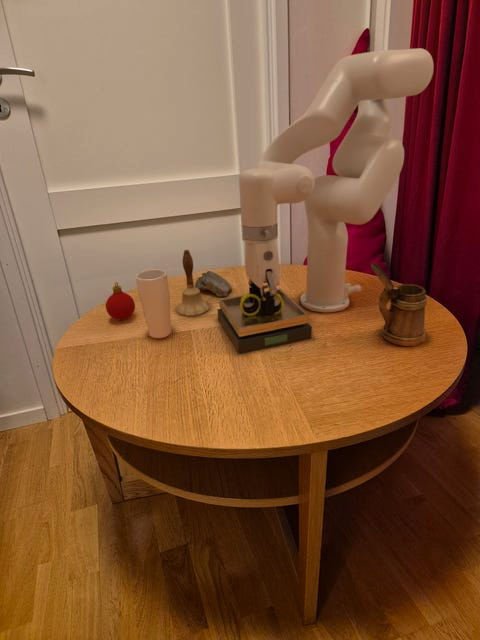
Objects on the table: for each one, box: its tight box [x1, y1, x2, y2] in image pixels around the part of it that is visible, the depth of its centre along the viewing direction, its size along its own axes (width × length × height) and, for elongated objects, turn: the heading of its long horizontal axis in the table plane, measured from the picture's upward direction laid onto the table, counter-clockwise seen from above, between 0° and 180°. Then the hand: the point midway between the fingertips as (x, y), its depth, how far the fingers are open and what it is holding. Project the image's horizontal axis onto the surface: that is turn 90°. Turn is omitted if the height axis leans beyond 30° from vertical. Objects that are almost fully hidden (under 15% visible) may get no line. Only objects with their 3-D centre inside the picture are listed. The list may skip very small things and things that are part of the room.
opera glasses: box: [240, 293, 284, 316], centre depth 93 cm, size 10×5×5 cm, turn 89°
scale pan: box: [218, 288, 310, 337], centre depth 94 cm, size 16×16×2 cm
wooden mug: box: [370, 262, 428, 347], centre depth 85 cm, size 9×14×18 cm, turn 99°
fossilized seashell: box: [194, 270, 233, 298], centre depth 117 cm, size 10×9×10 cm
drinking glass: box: [135, 268, 173, 339], centre depth 93 cm, size 7×7×15 cm
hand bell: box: [177, 249, 210, 317], centre depth 103 cm, size 8×8×16 cm
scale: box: [217, 308, 313, 355], centre depth 95 cm, size 17×17×4 cm
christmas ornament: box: [105, 281, 136, 321], centre depth 102 cm, size 7×7×10 cm
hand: (261, 307), depth 93 cm, fingers closed on opera glasses, 6 cm apart
